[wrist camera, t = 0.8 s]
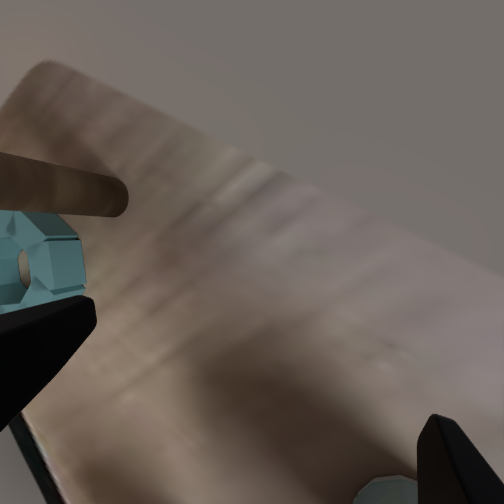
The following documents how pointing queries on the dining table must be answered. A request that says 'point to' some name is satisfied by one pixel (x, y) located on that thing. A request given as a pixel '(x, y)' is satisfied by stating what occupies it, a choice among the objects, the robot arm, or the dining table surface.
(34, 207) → the brown post
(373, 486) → the disposable coffee cup
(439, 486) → the robot arm
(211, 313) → the dining table surface
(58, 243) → the bead
